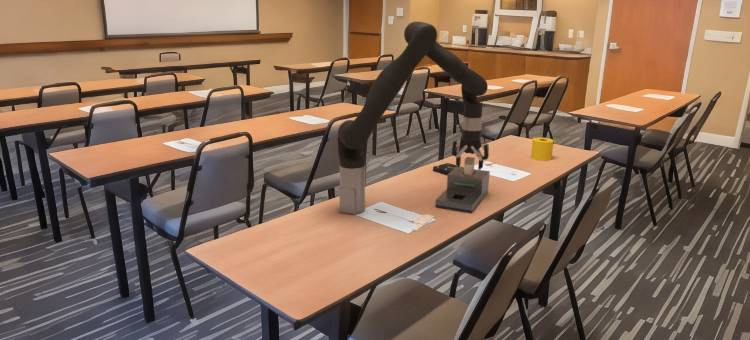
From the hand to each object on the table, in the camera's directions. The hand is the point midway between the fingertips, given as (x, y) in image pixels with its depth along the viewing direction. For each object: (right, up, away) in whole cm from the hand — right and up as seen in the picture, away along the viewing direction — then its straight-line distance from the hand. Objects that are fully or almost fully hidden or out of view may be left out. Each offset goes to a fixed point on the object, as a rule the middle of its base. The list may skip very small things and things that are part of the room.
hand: (469, 167), depth 218 cm
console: (-3, -12, -2) cm, 13 cm away
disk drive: (-2, -3, +32) cm, 32 cm away
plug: (0, -4, +1) cm, 4 cm away
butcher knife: (-22, -20, -26) cm, 40 cm away
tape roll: (+46, +5, +57) cm, 73 cm away
